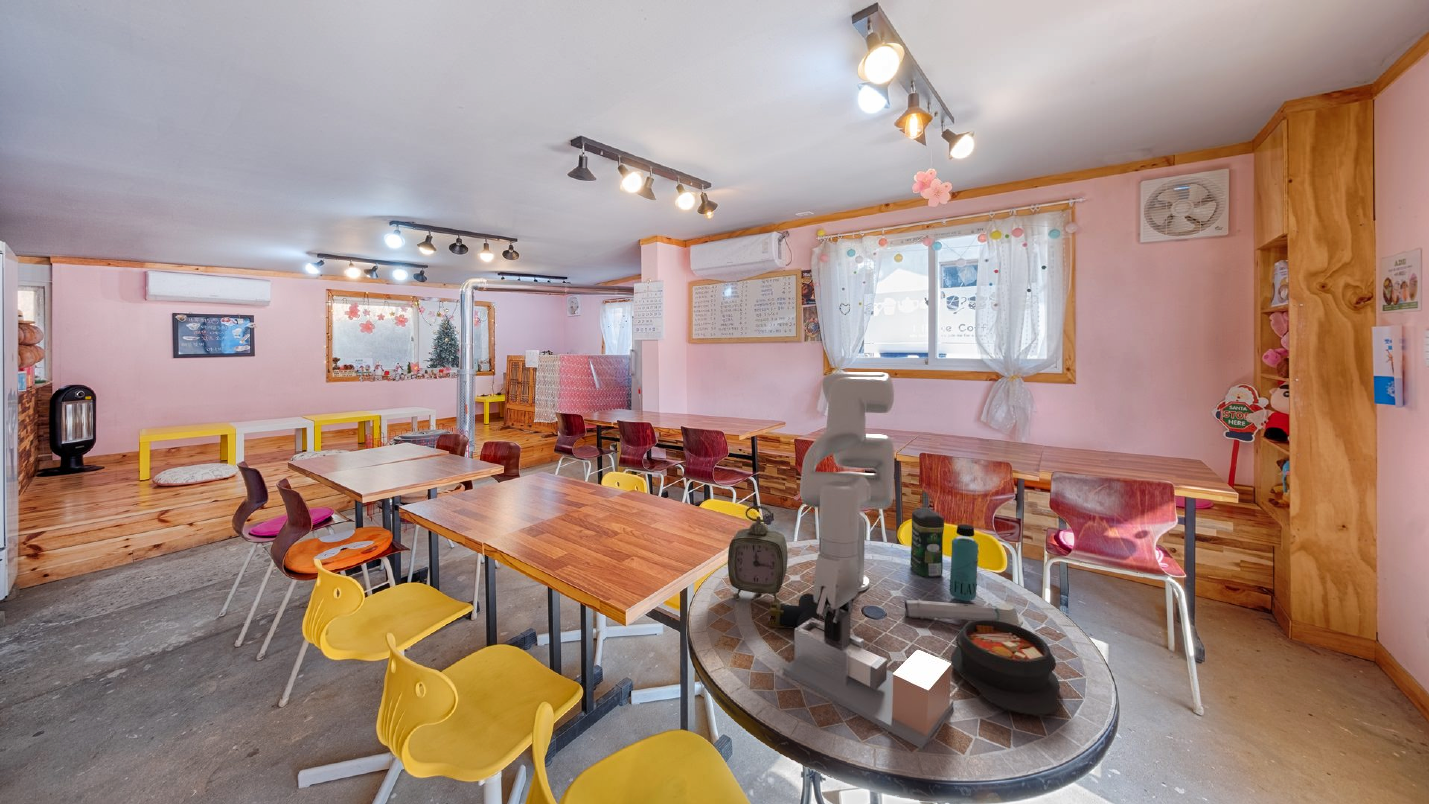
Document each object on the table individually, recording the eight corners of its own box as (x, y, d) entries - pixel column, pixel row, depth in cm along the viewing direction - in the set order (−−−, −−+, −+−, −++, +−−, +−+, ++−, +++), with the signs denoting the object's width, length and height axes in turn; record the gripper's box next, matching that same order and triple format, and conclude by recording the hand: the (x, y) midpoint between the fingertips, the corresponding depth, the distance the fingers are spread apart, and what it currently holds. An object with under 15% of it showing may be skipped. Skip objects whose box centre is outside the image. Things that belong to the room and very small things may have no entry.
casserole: (938, 639, 114) (939, 603, 113) (1029, 648, 110) (1031, 612, 109) (969, 716, 89) (971, 671, 88) (1088, 732, 85) (1091, 686, 85)
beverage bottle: (949, 604, 129) (952, 528, 127) (947, 592, 135) (950, 520, 134) (977, 608, 127) (981, 531, 125) (975, 597, 133) (978, 523, 131)
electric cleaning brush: (904, 595, 126) (1017, 597, 118) (907, 621, 127) (1020, 625, 118) (904, 605, 121) (1022, 608, 113) (907, 632, 122) (1026, 636, 113)
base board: (783, 673, 101) (783, 667, 101) (821, 644, 111) (821, 639, 111) (921, 749, 82) (921, 742, 82) (953, 706, 92) (953, 700, 92)
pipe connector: (767, 619, 113) (773, 589, 127) (767, 641, 113) (772, 609, 128) (820, 625, 110) (819, 594, 125) (819, 648, 111) (818, 614, 126)
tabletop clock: (727, 602, 131) (727, 508, 129) (736, 586, 140) (736, 498, 137) (783, 609, 127) (783, 513, 124) (788, 593, 135) (789, 502, 133)
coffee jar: (906, 564, 154) (908, 505, 152) (932, 564, 153) (934, 505, 152) (918, 578, 144) (920, 515, 142) (946, 578, 144) (948, 515, 142)
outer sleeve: (794, 659, 104) (794, 629, 103) (811, 646, 109) (812, 617, 108) (845, 686, 96) (846, 653, 95) (862, 671, 100) (863, 639, 100)
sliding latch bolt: (803, 653, 104) (804, 604, 103) (814, 645, 107) (815, 597, 106) (876, 690, 92) (877, 634, 91) (886, 679, 95) (887, 626, 94)
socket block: (891, 717, 87) (893, 673, 87) (916, 690, 94) (917, 649, 94) (926, 735, 83) (928, 690, 82) (949, 705, 90) (951, 663, 89)
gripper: (843, 530, 107) (842, 613, 108) (798, 552, 95) (797, 644, 97) (876, 539, 101) (874, 626, 103) (833, 563, 90) (831, 660, 92)
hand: (837, 634), depth 100 cm, fingers closed on sliding latch bolt, 3 cm apart
